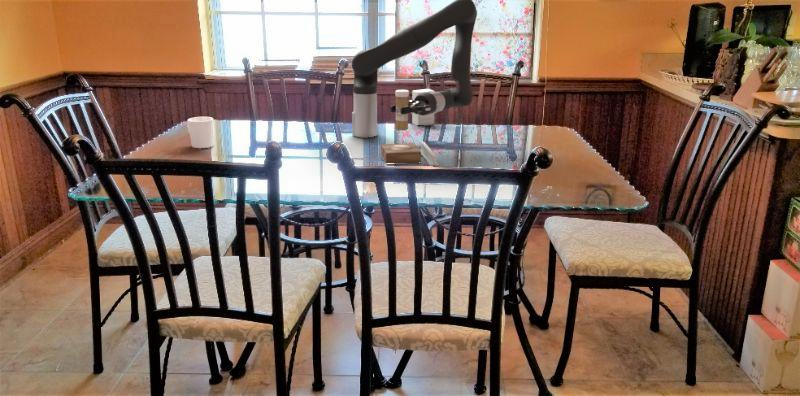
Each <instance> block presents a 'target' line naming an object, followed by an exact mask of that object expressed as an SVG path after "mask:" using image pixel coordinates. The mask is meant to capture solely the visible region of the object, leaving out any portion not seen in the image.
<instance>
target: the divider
mask: <svg viewBox="0 0 800 396" xmlns="http://www.w3.org/2000/svg"><path fill="white" fill-rule="evenodd" d="M419 150H420V151H421V157H422V158H423V160H424V161H425V162H426V161H427V162H428V163H427V162H426V163H427V164H428V166H429V165H430V166H429V167H439V166H440V164H439V163H438V162H437V155H436V154H435V153H434V151H433V150H432V149H431V148H430V147H429V146H428V144H427V143H426V142H425V141H420V149H419Z"/></svg>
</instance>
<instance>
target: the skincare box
mask: <svg viewBox="0 0 800 396" xmlns="http://www.w3.org/2000/svg"><path fill="white" fill-rule="evenodd" d="M411 92H412V93H411V95H412V96H411V100H414V99H415V98H416V96H417V95H419V94H424V93H430V92H436V91H435V90H433V89H431V88H424V89H416V90H415V89H414V90H412V91H411ZM411 116H412V119H411V123H412V124H413V125H414V126H416V125H424V126H431V125H435V113H433V114H428V115H424V116H422V115H419V114H415V113H412V114H411Z"/></svg>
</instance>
